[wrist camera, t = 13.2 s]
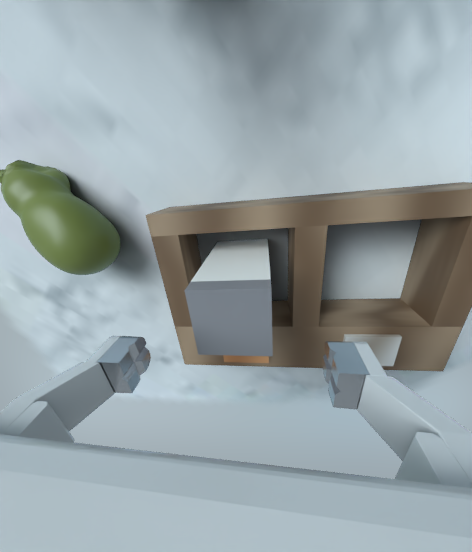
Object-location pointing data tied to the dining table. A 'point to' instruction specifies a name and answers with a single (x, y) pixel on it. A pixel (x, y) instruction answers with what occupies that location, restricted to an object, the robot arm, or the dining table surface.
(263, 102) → the dining table surface
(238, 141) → the dining table surface
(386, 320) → the socket rack
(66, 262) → the pear
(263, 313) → the white rectangular block
